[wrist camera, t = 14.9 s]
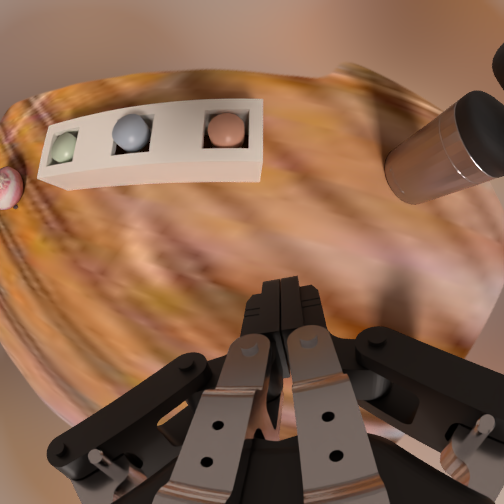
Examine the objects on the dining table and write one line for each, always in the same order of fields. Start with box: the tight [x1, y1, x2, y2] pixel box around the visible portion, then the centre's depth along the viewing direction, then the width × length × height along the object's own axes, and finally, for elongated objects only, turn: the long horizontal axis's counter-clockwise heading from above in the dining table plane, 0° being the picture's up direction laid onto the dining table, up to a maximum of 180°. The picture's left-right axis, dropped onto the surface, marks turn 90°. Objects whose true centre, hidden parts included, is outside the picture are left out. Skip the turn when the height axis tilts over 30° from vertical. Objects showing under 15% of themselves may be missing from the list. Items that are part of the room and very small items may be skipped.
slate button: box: [112, 114, 151, 153], centre depth 27 cm, size 4×4×2 cm
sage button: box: [51, 133, 77, 163], centre depth 28 cm, size 4×4×2 cm
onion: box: [0, 167, 23, 210], centre depth 32 cm, size 8×8×7 cm
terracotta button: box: [208, 113, 245, 148], centre depth 29 cm, size 4×4×2 cm
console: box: [37, 99, 263, 191], centre depth 31 cm, size 30×8×8 cm, turn 89°
